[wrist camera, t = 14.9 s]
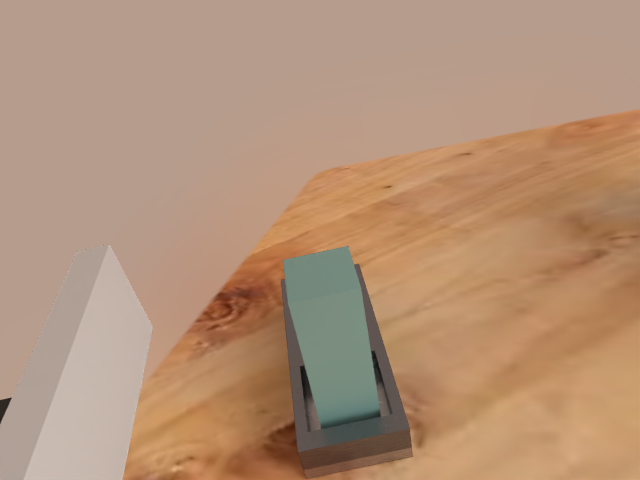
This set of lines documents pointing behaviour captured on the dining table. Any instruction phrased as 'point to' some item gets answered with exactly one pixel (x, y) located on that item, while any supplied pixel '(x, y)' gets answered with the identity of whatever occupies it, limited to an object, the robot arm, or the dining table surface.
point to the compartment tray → (353, 438)
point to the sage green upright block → (333, 335)
